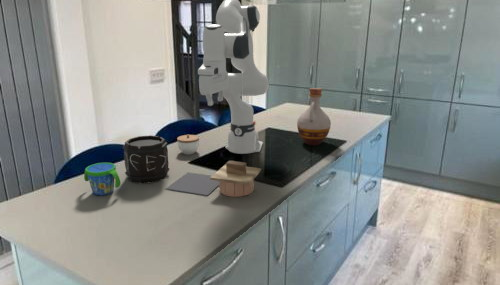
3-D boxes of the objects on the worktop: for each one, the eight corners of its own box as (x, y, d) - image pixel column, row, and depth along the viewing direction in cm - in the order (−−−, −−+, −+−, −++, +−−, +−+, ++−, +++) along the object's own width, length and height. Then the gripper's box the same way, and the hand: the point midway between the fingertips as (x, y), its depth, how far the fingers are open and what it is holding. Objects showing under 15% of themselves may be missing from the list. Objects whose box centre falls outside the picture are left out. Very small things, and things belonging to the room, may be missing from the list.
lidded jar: (195, 156, 181) (194, 138, 179) (174, 155, 183) (173, 136, 181) (202, 149, 191) (201, 132, 189) (182, 148, 193) (181, 131, 191)
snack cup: (128, 191, 143) (126, 166, 140) (106, 201, 134) (103, 175, 131) (101, 183, 150) (98, 159, 147) (78, 192, 141) (74, 167, 138)
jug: (326, 150, 191) (330, 92, 182) (292, 147, 196) (294, 90, 187) (331, 140, 208) (335, 86, 199) (299, 137, 214) (302, 84, 205)
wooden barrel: (124, 187, 146) (120, 149, 142) (126, 171, 163) (123, 136, 158) (171, 182, 151) (168, 145, 146) (168, 167, 168) (166, 133, 163)
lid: (225, 166, 152) (225, 154, 150) (260, 170, 147) (261, 158, 146) (210, 179, 138) (209, 167, 137) (248, 185, 134) (248, 172, 132)
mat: (187, 173, 161) (187, 172, 161) (226, 178, 155) (226, 177, 155) (165, 189, 144) (165, 188, 144) (207, 196, 139) (207, 195, 139)
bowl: (227, 181, 152) (227, 167, 151) (257, 185, 148) (257, 171, 146) (214, 193, 141) (213, 179, 139) (246, 199, 136) (246, 183, 135)
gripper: (218, 65, 156) (218, 98, 160) (195, 70, 137) (196, 107, 141) (232, 66, 154) (232, 99, 158) (211, 71, 135) (212, 108, 139)
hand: (215, 103), depth 149 cm, fingers open, 8 cm apart
